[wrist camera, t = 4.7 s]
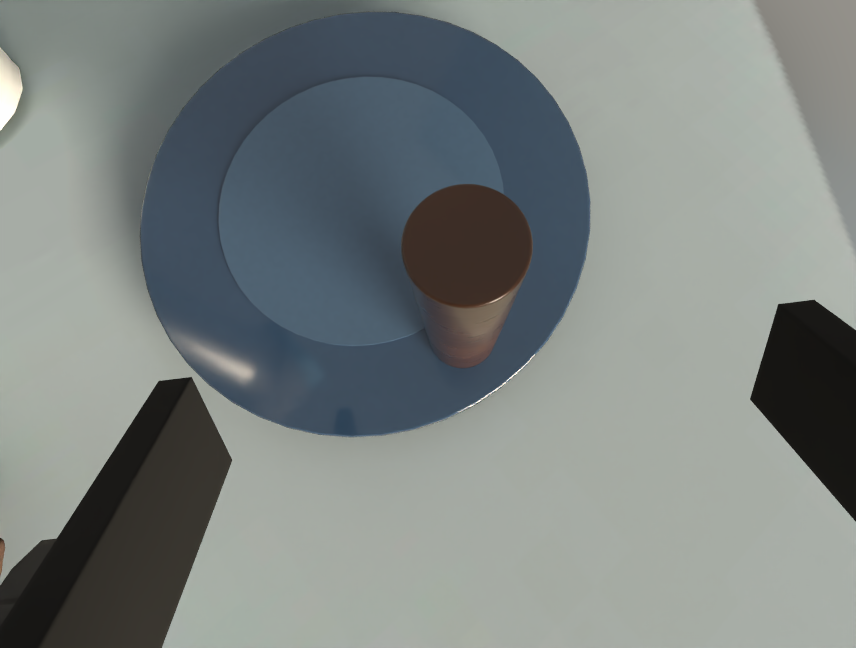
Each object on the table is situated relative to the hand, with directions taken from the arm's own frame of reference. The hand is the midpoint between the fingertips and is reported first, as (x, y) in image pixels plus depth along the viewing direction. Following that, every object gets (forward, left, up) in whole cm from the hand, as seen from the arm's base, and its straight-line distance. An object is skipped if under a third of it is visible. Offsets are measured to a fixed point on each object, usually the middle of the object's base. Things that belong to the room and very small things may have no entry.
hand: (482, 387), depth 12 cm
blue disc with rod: (-9, +4, -8) cm, 13 cm away
